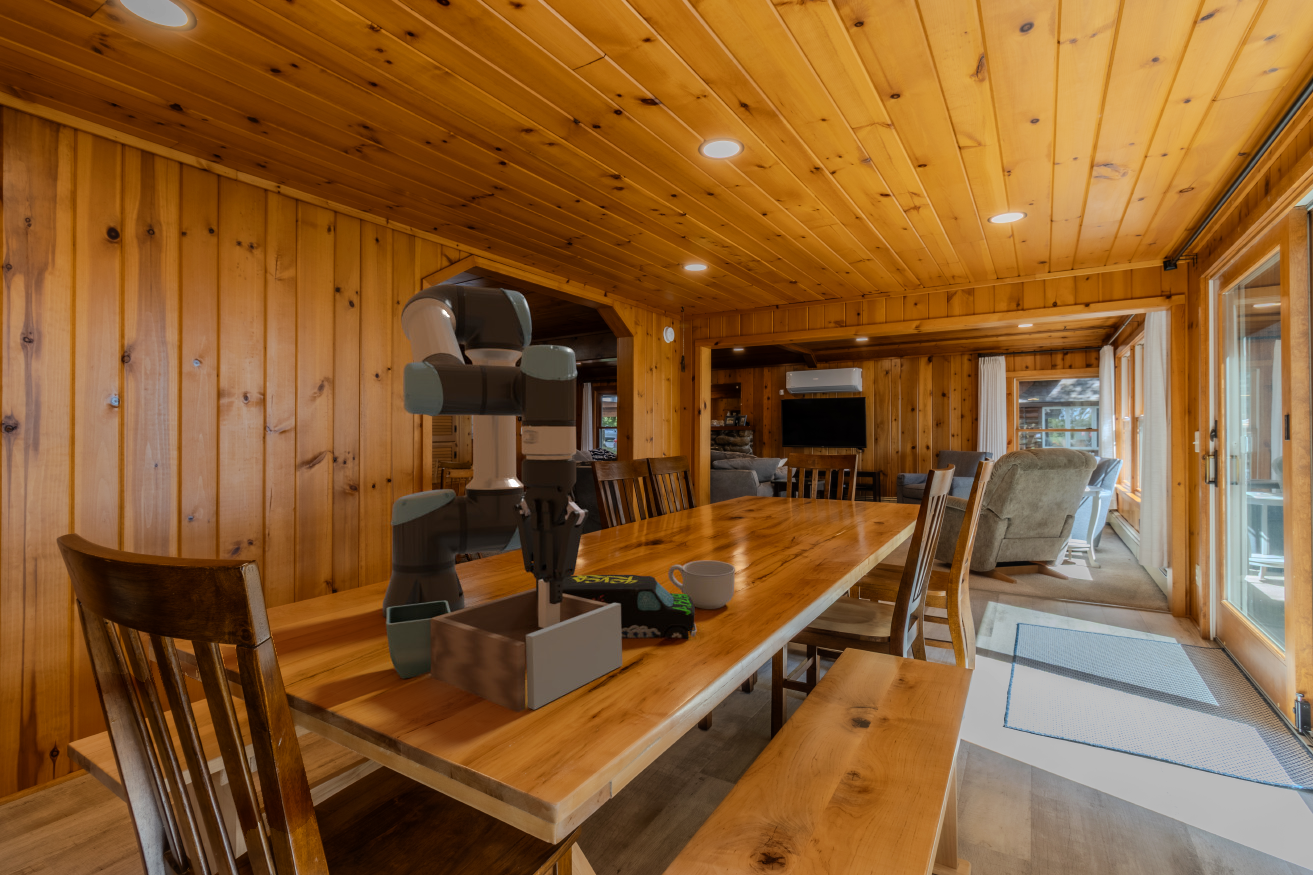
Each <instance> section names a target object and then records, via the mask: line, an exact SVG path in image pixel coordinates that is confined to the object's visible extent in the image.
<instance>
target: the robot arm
mask: <svg viewBox="0 0 1313 875" xmlns="http://www.w3.org/2000/svg"><path fill="white" fill-rule="evenodd" d="M400 316H401V317H400V318H401V319H400V322H401V329H402V331H403V334H404V335H405V336H406V338H407V340H408V341H409V342H410V349H411V355H412V360H413V362H408V363H406V364H405V365H404V367H403V374H402V375H403V376H402V377H403V378H402V379H403V380H402V383H403V384H402V387H403V388H402V395H403V396H402V397H403V407H404V410H405V412H407V413H409V414H411V415H425V416H429V417H436V416H472V423H473V424H472V430H473V431H472V438H473V439H472V447H473V448H472V454H473V455H472V457H473V458H472V460H473V467H472V468H473V469H472V470H473V471H472V473H473V476H472V477H473V478H472V480H470V481H469V482H468V483H467V484H466V485H465V495H458V496H457V494H456V492H455V490H454V489H451V488H450V489H449V488H446V489H434V490H433V489H432V490H426V491H420V492H415V493H410V494H407V495H404V496H401V497H399V498H398V499H396V500H395V501H394V503H393V505H392V510H391V512H392V514H391V521H390V525H391V526H392V539H391V540H392V541H391V543H392V544H391V548H392V549H391V550H392V552H391V553H392V554H391V558H392V560H391V564H392V566H391V567H392V569H391V570H392V571H391V576H390V579H389V582H388V586H387V589H386V591H385V594H384V595H385V596H384V597H383V601H382V616H383V617H384V618H386V617H387V613H386V609H387V608H388V607H394V606H403V605H411V604H420V603H427V602H435V601H447V602H448V605H449V609H450V612H454V611H458V610H461V609H465V604H466V603H465V592H464V590H463V587H462V584H461V581H460V578H459V576H458V573H457V570H456V556H457V555H467V554H475V553H485V552H486V553H487V552H500V553H501V552H502V553H503V552H505V551H509V550H518V549H521V554H522V559H523V560H522V561H523V566H524V571H525V572H526V573H531V574H532V575H533V577H534V578H535V588H536V598H537V600H538V615H539V627H542V628H547V627H549V626H552V625H555V624H558V623H560V602H562V599H563V595H562V594H563V592H562V591H563V579H564V578H565V577H568V576H574V574H575V572H576V567H577V566H576V565H577V560H578V557H579V556H578V555H579V550H580V546H581V545H580V544H581V539H582V538H581V537H582V532H583V529H584V528H583V527H584V525H585V523H586V521H587V519H588V517H589V513H590V512H589V510H588V509H586V508H583V509H581V508H580V507H579V505H577V503H575V502H576V498H575V495H574V491H573V487H574V485H575V484H576V482H577V461H576V460H575V458H573V456H574V455H576V454H577V426H576V425H577V421H576V420H577V376H578V370H577V361H576V353H575V351H574V350H573V349H572V348H570V347H568V346H563V345H556V344H555V345H552V344H539V345H537V344H536V345H535V344H534V345H530V344H531V341H532V329H533V328H532V318H531V312H530V307H529V304H528V302H527V300H526V298H525V296H524V295H523V294H522V293H520V291H516V290H510V289H504V288H502V287H499V288H495V287H484V286H474V285H473V286H471V285H461V284H453V283H445V284H444V283H441V284H437V285H436V284H435V285H432V286H429V287H426V288H424V289H422V290H420V291H418V292H417V293H415V294H414V295H413V296H411V297H410V298H409V299H408V300H407V302H406V303H405V304H404V307H403V308H402V311H401V315H400ZM460 344H461V345H464V355H465V356H467V357H468V358H469V359H470V361H471V362H472V364H470V363H469V364H467V363H465V360H464V357H463V354H462V351H461V348H460V346H459V345H460ZM519 359H520V360H521V362H520V365H519V366H516V363H517V361H519ZM517 417H521V454H522V455H523V456H526V457H525V458H524V459H523V460H522V461H521V481H520V480H519V479H518V477H517V434H516V433H517V424H516V423H517V422H516V421H517V420H516V418H517ZM524 486H525V487H526V490H524V489H525V488H524ZM524 491H525V492H524Z"/></svg>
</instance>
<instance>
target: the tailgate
mask: <svg viewBox="0 0 1313 875" xmlns="http://www.w3.org/2000/svg"><path fill="white" fill-rule="evenodd" d="M622 639H623V638H622V635H621V604H619V603H612V604H609V605H607V606H604V607H601V608H599V609H596V610H593V611H590V612H588V613H585V614H582V615H579V616H577V617H574V618H571V619H569V620H566V621H563V622H560V623H558V624H555V625H552V626H549V627H547V628H544V629H541V630H539V631H536V632H533V633H530V634H528V635H526V645H525V661H526V688H527V690H526V693H527V694H526V697H527V708H528V709H531V710H537V709H539V708H541V707H543V706H545V705H547V704H549V703H550V702H553V701H554V700H556V699H558V698H561V697H562V696H564V695H567V694H568V693H570V692H573V691H575V690H577V689H578V688H580V687H582V686H584V685H586V684H588V683H591V682H592V681H594V680H597V679H598V678H600V677H602V676H604V675H606V674H608V673H610V672H612V671H613V670H616V669H618V668H621V667H622V666H623V646H622V644H623V643H622V642H623V641H622Z"/></svg>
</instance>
